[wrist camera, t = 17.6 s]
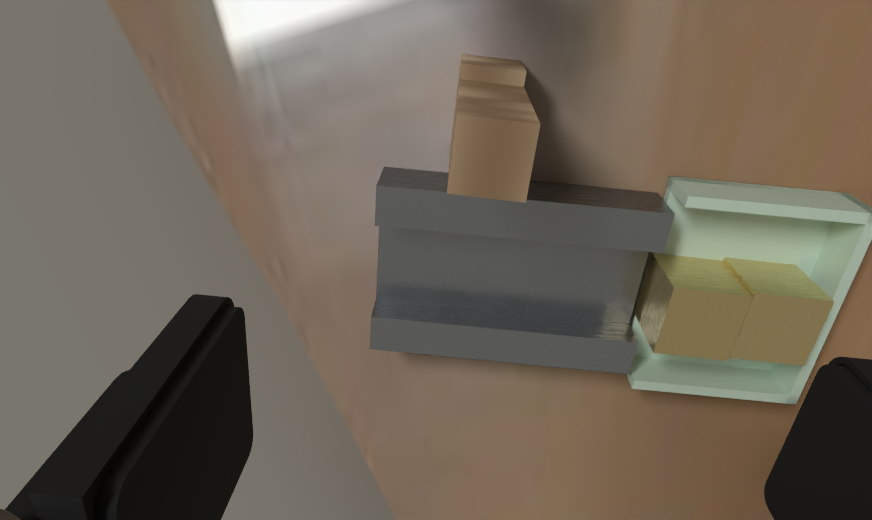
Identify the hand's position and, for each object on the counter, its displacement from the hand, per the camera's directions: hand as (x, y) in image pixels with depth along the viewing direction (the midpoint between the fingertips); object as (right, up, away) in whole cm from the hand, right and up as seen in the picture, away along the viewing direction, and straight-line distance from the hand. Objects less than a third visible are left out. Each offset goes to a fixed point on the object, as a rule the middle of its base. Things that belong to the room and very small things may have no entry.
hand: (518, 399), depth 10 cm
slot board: (+3, +2, +25) cm, 25 cm away
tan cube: (+13, +1, +24) cm, 27 cm away
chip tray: (+16, +1, +25) cm, 29 cm away
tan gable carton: (+1, +10, +21) cm, 23 cm away
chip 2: (+17, 0, +24) cm, 29 cm away
